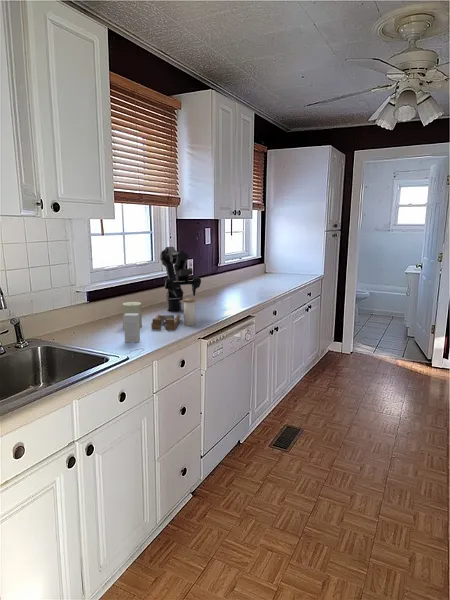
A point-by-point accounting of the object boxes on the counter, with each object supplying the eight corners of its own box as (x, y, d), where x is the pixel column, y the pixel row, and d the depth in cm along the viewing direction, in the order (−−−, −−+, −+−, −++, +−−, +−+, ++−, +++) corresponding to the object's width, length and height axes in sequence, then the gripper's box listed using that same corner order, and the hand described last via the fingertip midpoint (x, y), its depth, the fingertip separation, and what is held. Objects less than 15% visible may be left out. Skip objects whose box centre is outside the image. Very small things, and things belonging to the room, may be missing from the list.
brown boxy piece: (158, 319, 220) (158, 310, 219) (179, 319, 220) (179, 310, 219) (151, 329, 200) (151, 319, 199) (175, 329, 200) (175, 319, 199)
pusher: (158, 323, 210) (158, 314, 210) (174, 323, 210) (174, 315, 210) (155, 327, 203) (155, 318, 202) (172, 327, 203) (172, 318, 202)
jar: (181, 325, 209) (181, 299, 206) (186, 322, 214) (186, 297, 212) (193, 326, 207) (193, 300, 204) (197, 323, 213) (197, 298, 210)
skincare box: (140, 339, 184) (139, 313, 181) (138, 342, 179) (137, 315, 177) (126, 339, 183) (125, 313, 181) (124, 342, 179) (123, 315, 177)
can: (123, 329, 200) (122, 304, 198) (122, 324, 209) (121, 301, 206) (142, 328, 202) (142, 304, 200) (141, 323, 211) (140, 300, 209)
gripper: (165, 263, 213) (170, 288, 205) (200, 262, 220) (206, 286, 212) (162, 276, 222) (167, 300, 214) (196, 275, 228) (202, 298, 220)
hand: (185, 296), depth 215 cm, fingers open, 9 cm apart
